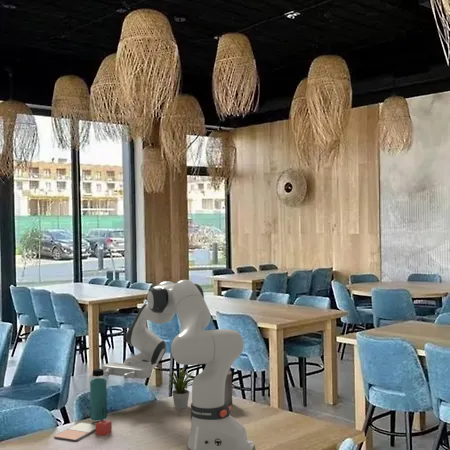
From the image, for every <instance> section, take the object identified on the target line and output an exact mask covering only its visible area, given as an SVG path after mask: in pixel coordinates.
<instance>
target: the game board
mask: <svg viewBox="0 0 450 450" xmlns="http://www.w3.org/2000/svg"><path fill="white" fill-rule="evenodd" d="M94 432H95V433H96V423H92V422H85V421H80V422H78V423H76V424H74V425H73V426H71V427H68V428H66V429H65V430H63V431H60V432H59V433H56V434H55V435H54V436H53V438H56V439H62V440H68V441H74V442H79V441H81V440H83V439H84V438H86V437H88V436H90V435H92V434H93V433H94Z"/></svg>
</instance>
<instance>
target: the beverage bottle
mask: <svg viewBox="0 0 450 450" xmlns="http://www.w3.org/2000/svg"><path fill="white" fill-rule="evenodd" d="M92 376H93V378H92V379H91V380H90V381H89V391H90V392H89V396H90V397H89V402H90V403H89V411H90V412H89V417H90V420H92V421H101V420H106V419H107V418H108V399H107V398H108V396H107V395H108V393H107V390H108V388H107V379H106V378H105V377H102V376H105V375H104V373H103V369H102V368H95V369H93V370H92Z"/></svg>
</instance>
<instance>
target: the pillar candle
mask: <svg viewBox="0 0 450 450" xmlns="http://www.w3.org/2000/svg"><path fill="white" fill-rule="evenodd" d="M232 374H233V372H232V371H231V369H229V371H228V374H227V377H226V381H225V396H224V402H225V404H226V405H227V406H228V407H229V406H231V407H232V406H233V379H232V377H233V375H232Z"/></svg>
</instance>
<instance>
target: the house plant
mask: <svg viewBox="0 0 450 450" xmlns="http://www.w3.org/2000/svg"><path fill="white" fill-rule="evenodd" d="M188 371H189V369H186V370H185V369H184V368H181V366H180V367H179V370H178V375H177V374H176V372H175V371H173V370H172V371H171V372H172V373H170V372H169V374H168V373H167V374H166V373H165V374H164V375H165V376H166V375H168V376H169V377H170V378H171V379H170V380H168V382H170V383H171V384H169V386H168V388H169V389H171V388H174V390H173V391H171V392H172V399H173V405H174V408H175V409H179V410H182V408H183V409H186V407H188V404H189V397H190V390H187V389H188V387H189V386H191V387H192V382H193V380H194V378H195V377H194V376H193V375H195V376H196V373H195V374H194V372H195V370H194V371H191V372H190V373H189V374H188V375H187V376H185V375H186V374H187V373H188ZM193 377H194V378H193ZM191 381H192V382H191Z"/></svg>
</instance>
